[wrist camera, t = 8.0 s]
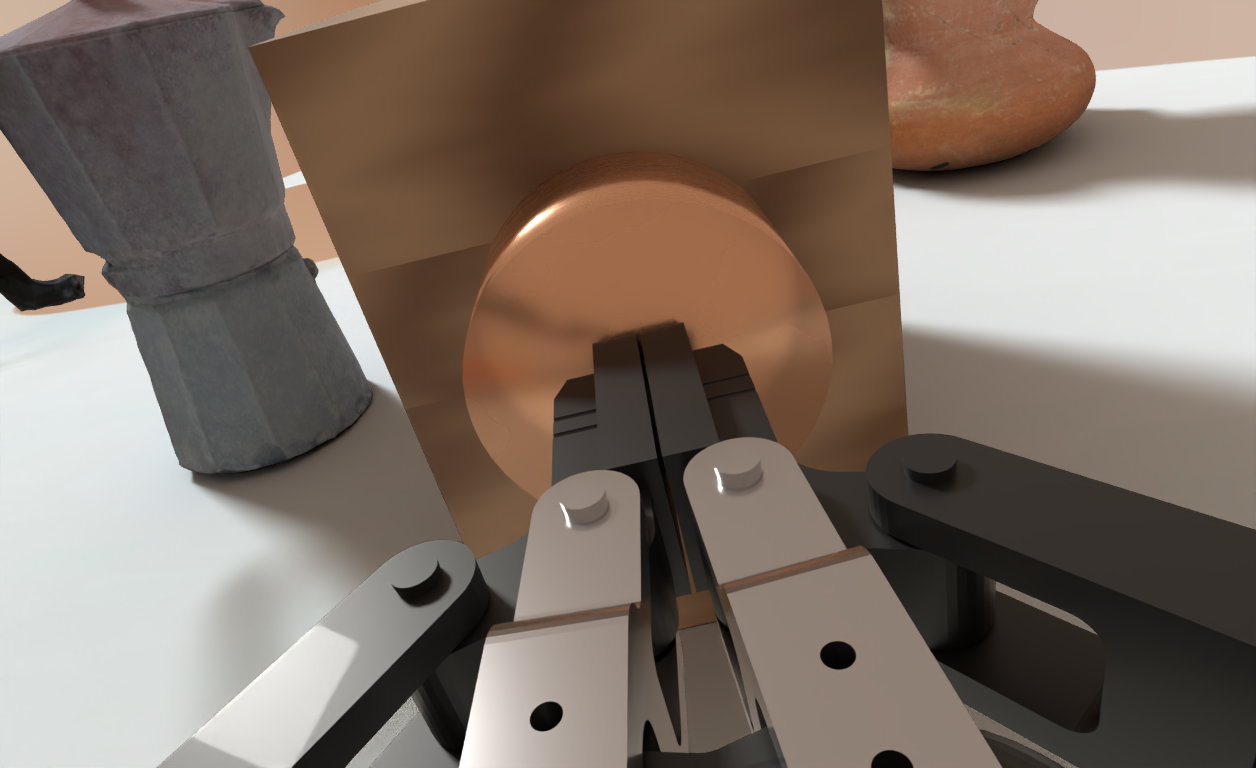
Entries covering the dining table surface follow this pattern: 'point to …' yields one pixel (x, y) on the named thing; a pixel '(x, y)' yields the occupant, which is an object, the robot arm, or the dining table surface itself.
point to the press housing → (574, 132)
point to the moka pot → (182, 218)
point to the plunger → (635, 298)
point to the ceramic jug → (977, 82)
